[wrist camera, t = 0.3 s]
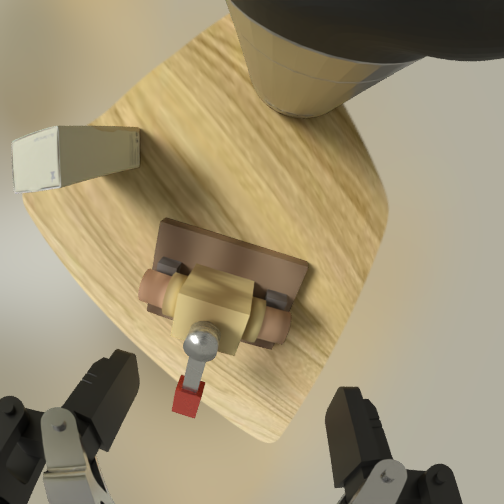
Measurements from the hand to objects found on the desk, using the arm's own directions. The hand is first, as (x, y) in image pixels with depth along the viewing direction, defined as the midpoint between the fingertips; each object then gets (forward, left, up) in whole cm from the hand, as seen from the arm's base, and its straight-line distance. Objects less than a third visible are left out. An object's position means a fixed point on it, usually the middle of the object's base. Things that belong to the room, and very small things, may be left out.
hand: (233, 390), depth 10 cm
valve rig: (+6, -2, -19) cm, 20 cm away
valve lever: (+11, -2, -10) cm, 15 cm away
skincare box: (-5, -17, -19) cm, 26 cm away
